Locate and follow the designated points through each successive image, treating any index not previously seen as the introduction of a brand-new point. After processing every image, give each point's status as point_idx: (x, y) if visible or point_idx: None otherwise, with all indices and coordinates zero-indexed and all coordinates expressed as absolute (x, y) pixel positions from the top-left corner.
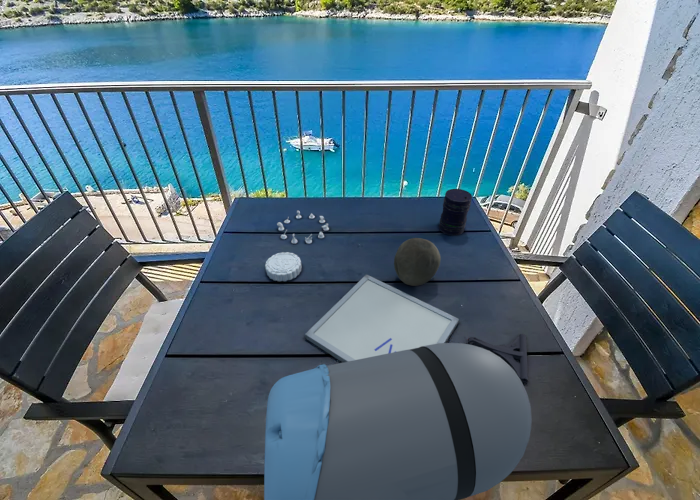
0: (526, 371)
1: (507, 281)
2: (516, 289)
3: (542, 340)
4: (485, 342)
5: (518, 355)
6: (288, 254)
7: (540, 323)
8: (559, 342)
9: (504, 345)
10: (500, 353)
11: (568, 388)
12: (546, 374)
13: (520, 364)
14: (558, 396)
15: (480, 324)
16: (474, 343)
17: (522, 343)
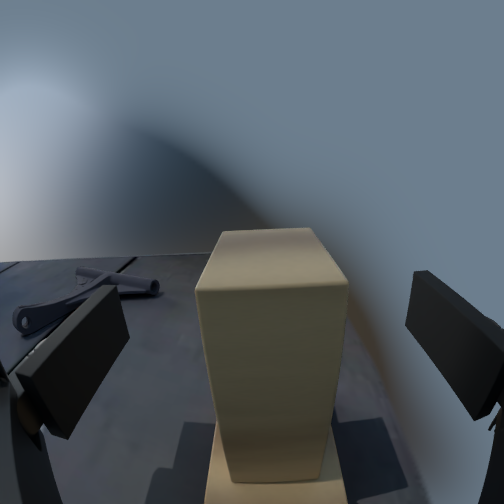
0: (140, 277)
1: (7, 269)
2: (23, 266)
3: (104, 265)
4: (43, 302)
5: (105, 278)
6: None
7: (81, 261)
8: (120, 256)
9: (73, 290)
10: (81, 297)
11: (192, 262)
12: (158, 273)
13: (121, 283)
14: (202, 271)
15: (14, 308)
16: (29, 321)
17: (90, 271)
